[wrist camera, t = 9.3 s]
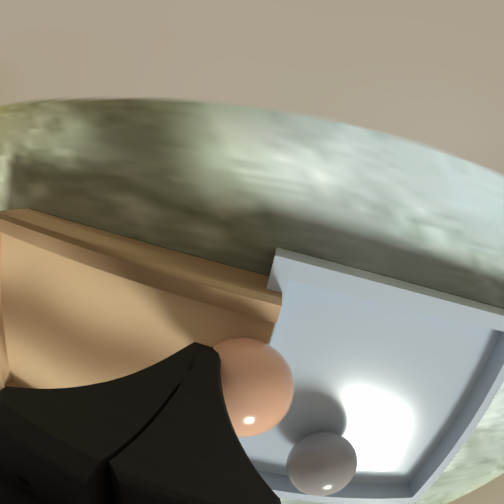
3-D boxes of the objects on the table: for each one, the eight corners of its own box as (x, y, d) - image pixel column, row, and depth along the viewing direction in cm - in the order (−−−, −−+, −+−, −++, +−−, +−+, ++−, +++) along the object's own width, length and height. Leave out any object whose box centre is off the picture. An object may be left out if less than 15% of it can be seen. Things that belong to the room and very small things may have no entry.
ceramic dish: (409, 484, 15) (415, 503, 13) (216, 461, 15) (209, 482, 14) (511, 311, 12) (530, 322, 10) (276, 247, 13) (275, 255, 11)
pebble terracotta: (214, 469, 8) (168, 399, 10) (295, 437, 10) (243, 382, 13) (239, 396, 7) (180, 322, 9) (330, 367, 9) (264, 313, 12)
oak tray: (230, 451, 15) (219, 492, 12) (28, 366, 16) (-1, 388, 13) (283, 279, 13) (281, 306, 10) (27, 207, 14) (-15, 212, 11)
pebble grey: (309, 449, 15) (348, 488, 12) (262, 470, 13) (303, 517, 10) (336, 410, 14) (383, 452, 12) (288, 430, 12) (339, 484, 9)
